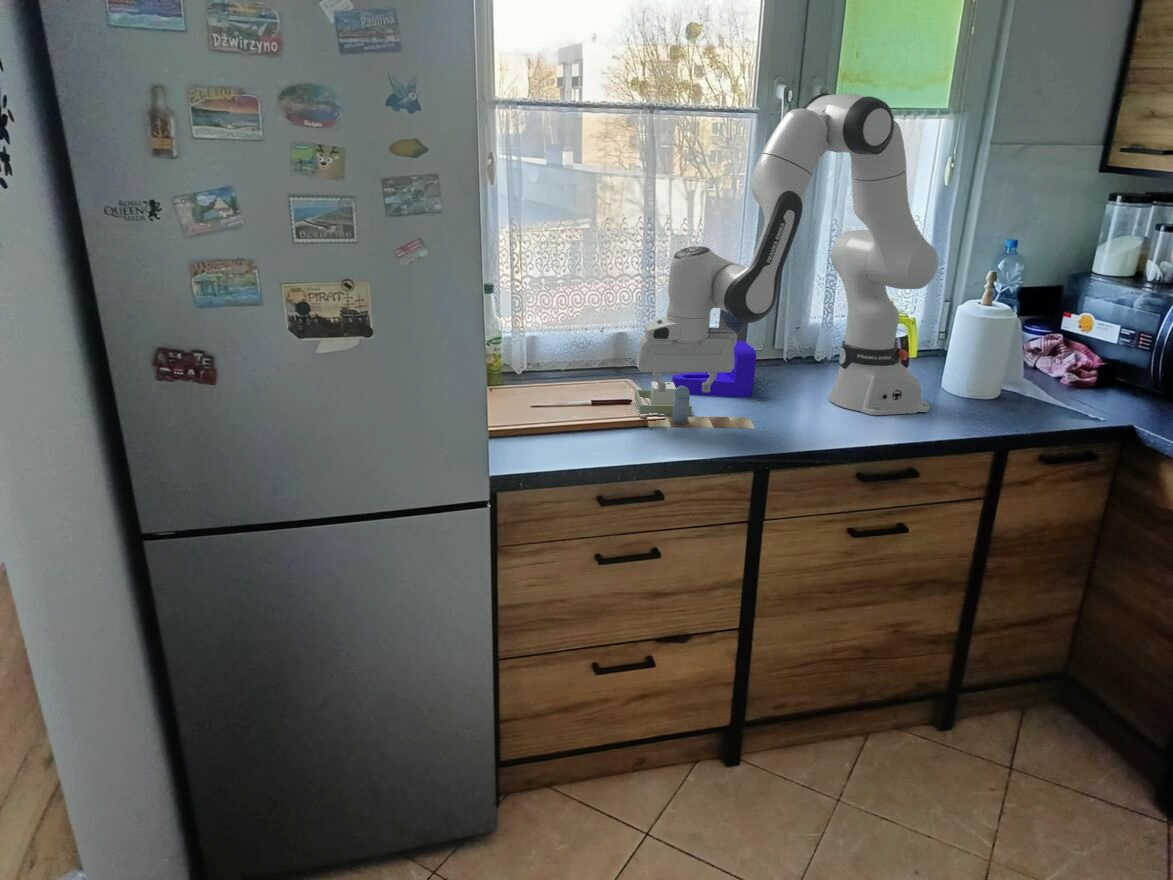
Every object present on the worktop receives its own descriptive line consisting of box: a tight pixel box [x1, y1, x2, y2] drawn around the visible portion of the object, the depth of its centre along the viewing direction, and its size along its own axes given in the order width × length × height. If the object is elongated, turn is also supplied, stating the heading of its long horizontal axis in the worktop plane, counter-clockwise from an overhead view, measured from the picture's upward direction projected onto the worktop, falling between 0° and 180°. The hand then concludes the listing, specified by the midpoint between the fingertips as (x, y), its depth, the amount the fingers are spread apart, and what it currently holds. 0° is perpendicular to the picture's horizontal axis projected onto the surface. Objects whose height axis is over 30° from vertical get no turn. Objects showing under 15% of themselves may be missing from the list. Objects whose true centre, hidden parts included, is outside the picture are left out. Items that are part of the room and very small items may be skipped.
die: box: [650, 381, 676, 405], centre depth 195 cm, size 5×5×5 cm
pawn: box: [672, 386, 691, 424], centre depth 186 cm, size 3×3×8 cm
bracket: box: [671, 341, 757, 398], centre depth 207 cm, size 18×11×12 cm, turn 101°
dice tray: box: [634, 389, 692, 416], centre depth 196 cm, size 11×11×3 cm
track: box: [647, 415, 756, 430], centre depth 188 cm, size 22×7×1 cm, turn 93°
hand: (683, 391), depth 185 cm, fingers open, 8 cm apart
